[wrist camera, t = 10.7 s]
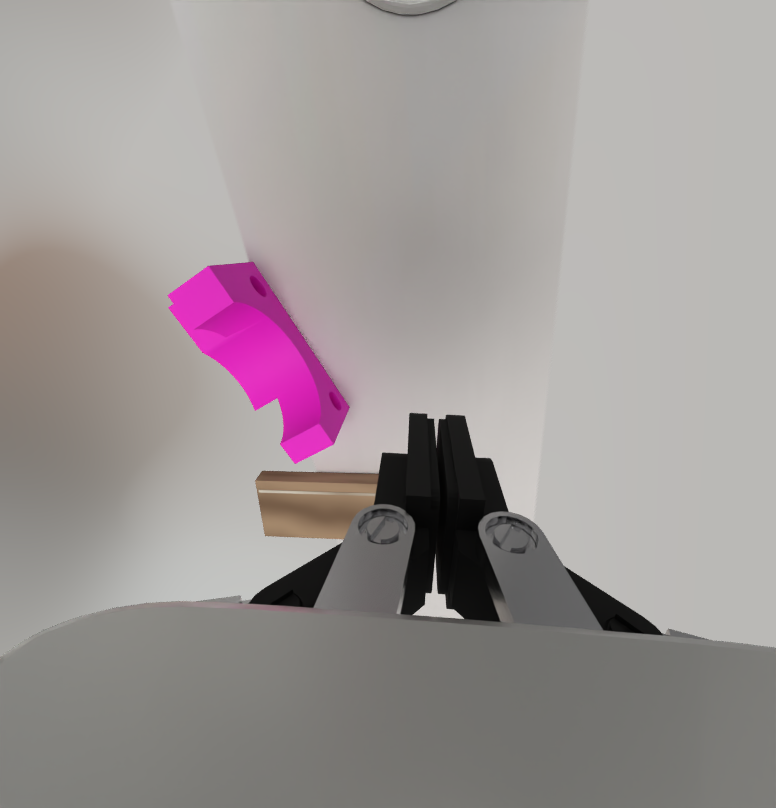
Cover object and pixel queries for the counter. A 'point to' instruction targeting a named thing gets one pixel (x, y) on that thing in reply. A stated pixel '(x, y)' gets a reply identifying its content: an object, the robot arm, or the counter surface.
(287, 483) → the plank
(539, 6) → the counter surface
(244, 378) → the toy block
